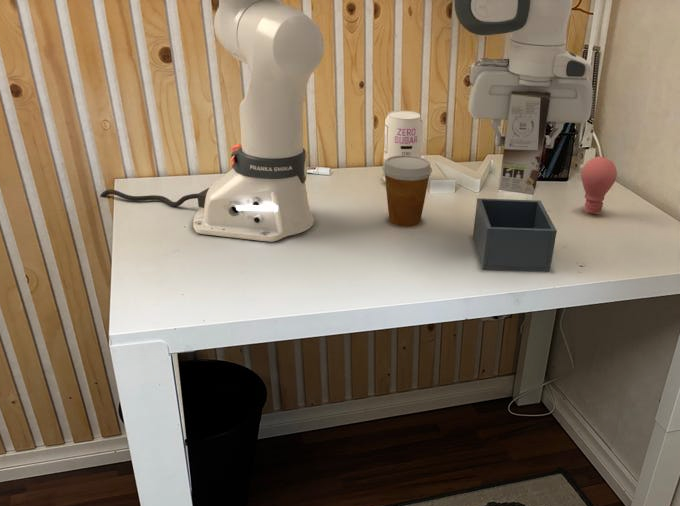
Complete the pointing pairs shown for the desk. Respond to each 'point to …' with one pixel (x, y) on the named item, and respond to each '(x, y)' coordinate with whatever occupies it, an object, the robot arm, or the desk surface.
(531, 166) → the coffee box
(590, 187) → the light bulb
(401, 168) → the disposable coffee cup
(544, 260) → the open box
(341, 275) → the desk surface
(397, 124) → the supplement can
